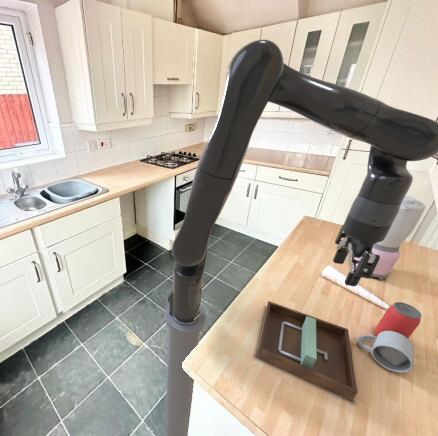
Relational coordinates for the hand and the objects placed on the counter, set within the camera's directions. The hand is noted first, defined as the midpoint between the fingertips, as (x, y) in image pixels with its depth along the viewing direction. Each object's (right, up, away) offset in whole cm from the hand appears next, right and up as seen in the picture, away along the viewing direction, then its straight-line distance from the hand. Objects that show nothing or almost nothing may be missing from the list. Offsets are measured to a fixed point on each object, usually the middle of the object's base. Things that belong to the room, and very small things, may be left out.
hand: (343, 273), depth 61 cm
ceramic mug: (+16, -25, +7) cm, 30 cm away
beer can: (+23, -22, +12) cm, 34 cm away
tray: (-4, -24, +10) cm, 26 cm away
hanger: (-3, -23, +9) cm, 25 cm away
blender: (+42, -7, +39) cm, 58 cm away
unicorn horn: (+27, -13, +28) cm, 41 cm away
